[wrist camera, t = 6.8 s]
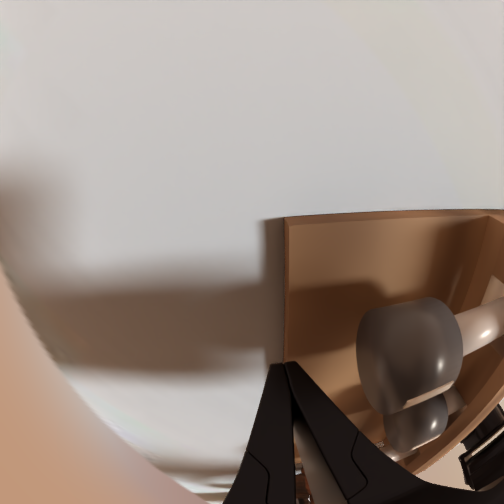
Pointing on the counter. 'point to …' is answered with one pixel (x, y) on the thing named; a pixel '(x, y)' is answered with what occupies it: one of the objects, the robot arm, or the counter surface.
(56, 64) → the counter surface
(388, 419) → the knob middle
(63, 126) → the counter surface
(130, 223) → the counter surface
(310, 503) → the pottery mug
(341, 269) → the panel
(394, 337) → the knob near
